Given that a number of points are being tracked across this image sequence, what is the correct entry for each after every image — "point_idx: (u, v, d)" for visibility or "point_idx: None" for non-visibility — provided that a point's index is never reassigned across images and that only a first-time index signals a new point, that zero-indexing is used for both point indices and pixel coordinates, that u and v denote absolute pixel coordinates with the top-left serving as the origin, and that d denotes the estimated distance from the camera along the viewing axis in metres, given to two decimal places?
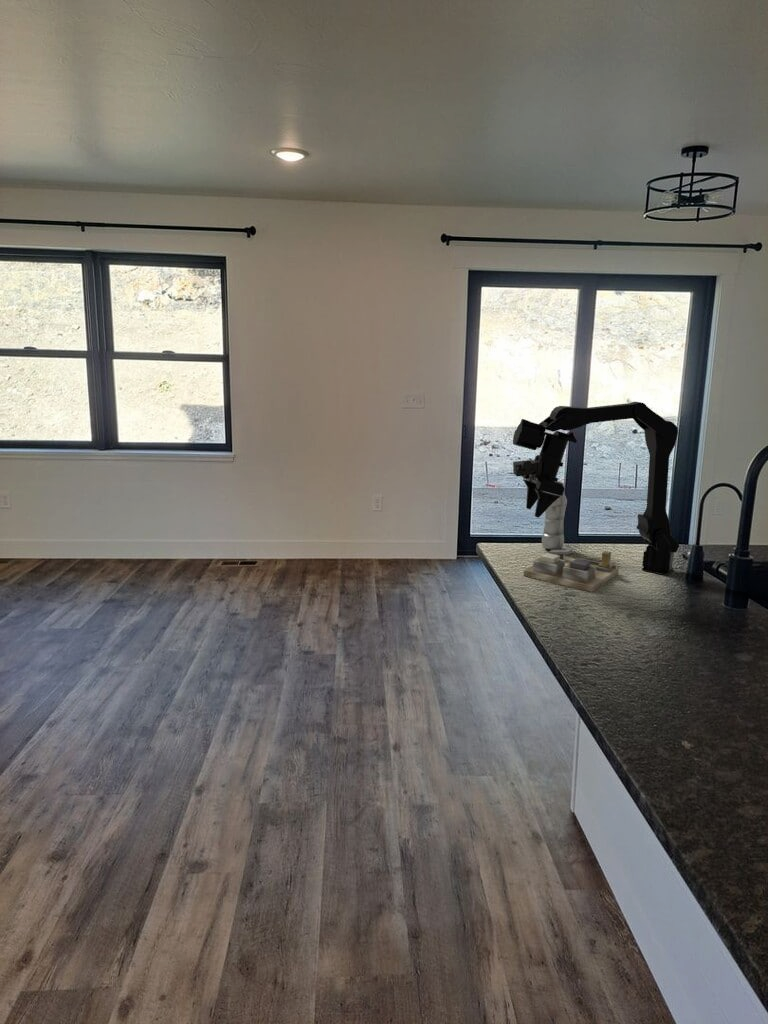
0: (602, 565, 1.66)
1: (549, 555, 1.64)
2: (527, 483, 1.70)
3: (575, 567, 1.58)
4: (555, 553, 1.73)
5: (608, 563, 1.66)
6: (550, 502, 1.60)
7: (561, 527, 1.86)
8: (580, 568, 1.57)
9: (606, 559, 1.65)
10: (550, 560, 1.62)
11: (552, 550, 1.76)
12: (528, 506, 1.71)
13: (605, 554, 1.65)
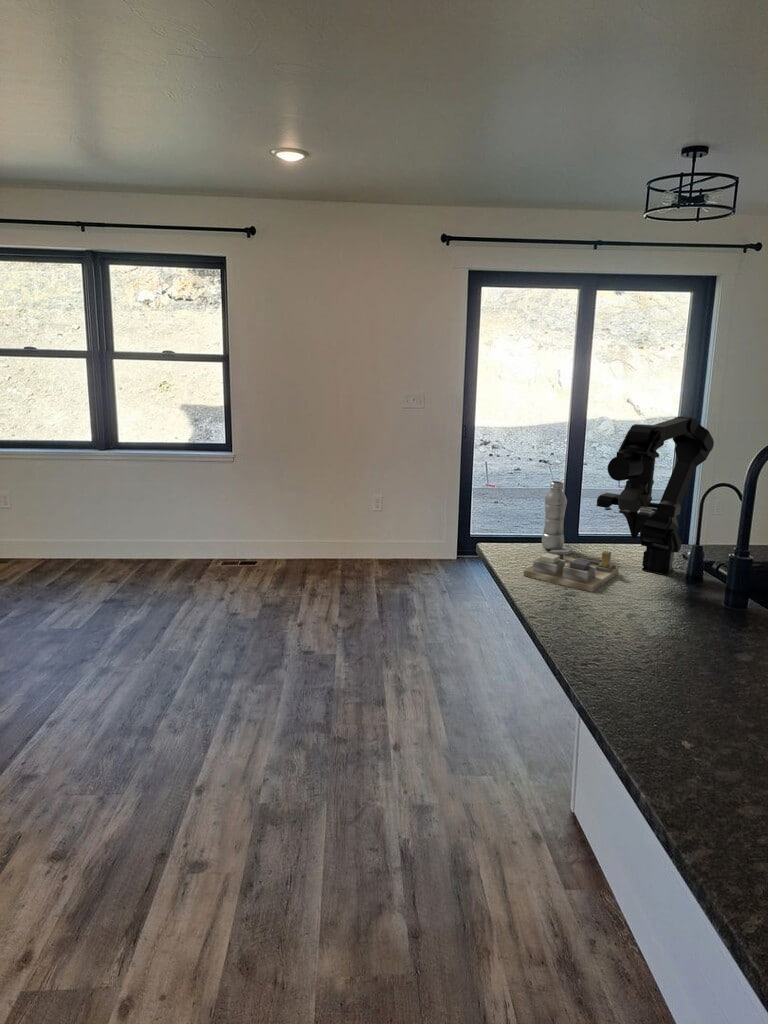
0: (602, 565, 1.66)
1: (549, 555, 1.64)
2: (631, 514, 1.58)
3: (575, 567, 1.58)
4: (555, 553, 1.73)
5: (608, 563, 1.66)
6: (645, 520, 1.59)
7: (561, 527, 1.86)
8: (580, 568, 1.57)
9: (606, 559, 1.65)
10: (550, 560, 1.62)
11: (552, 550, 1.76)
12: None
13: (605, 554, 1.65)
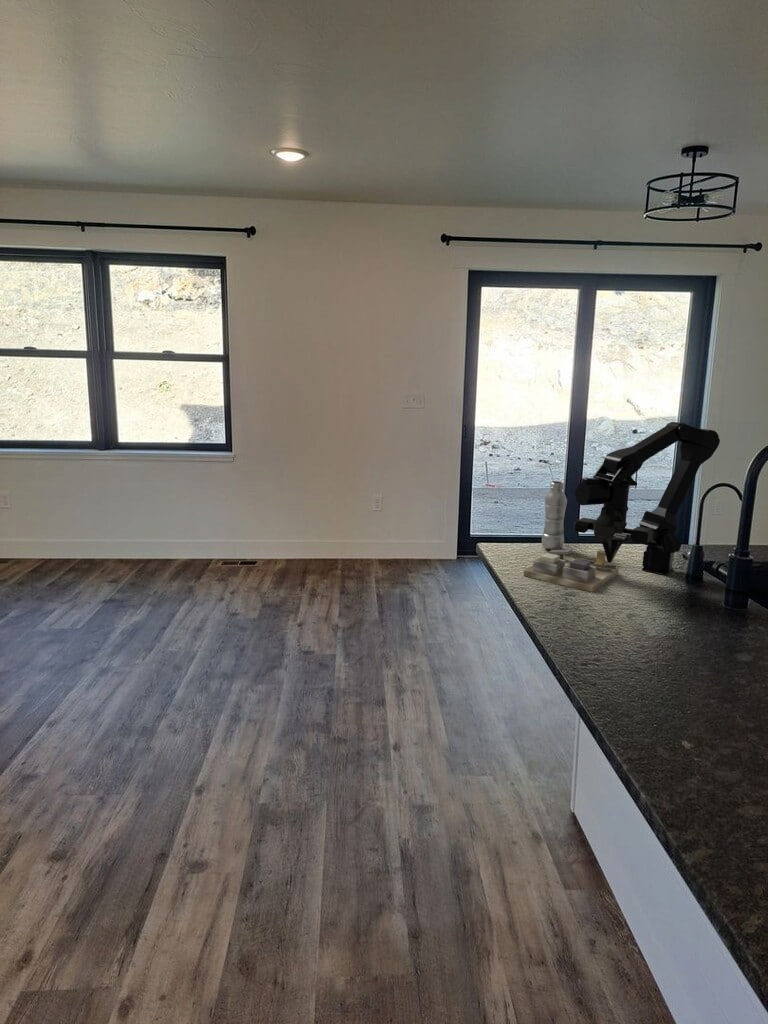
0: (597, 564, 1.67)
1: (549, 555, 1.64)
2: (606, 539, 1.63)
3: (575, 567, 1.58)
4: (555, 553, 1.73)
5: (603, 562, 1.66)
6: (620, 544, 1.64)
7: (561, 527, 1.86)
8: (580, 568, 1.57)
9: (601, 558, 1.66)
10: (550, 560, 1.62)
11: (552, 550, 1.76)
12: None
13: (600, 553, 1.66)
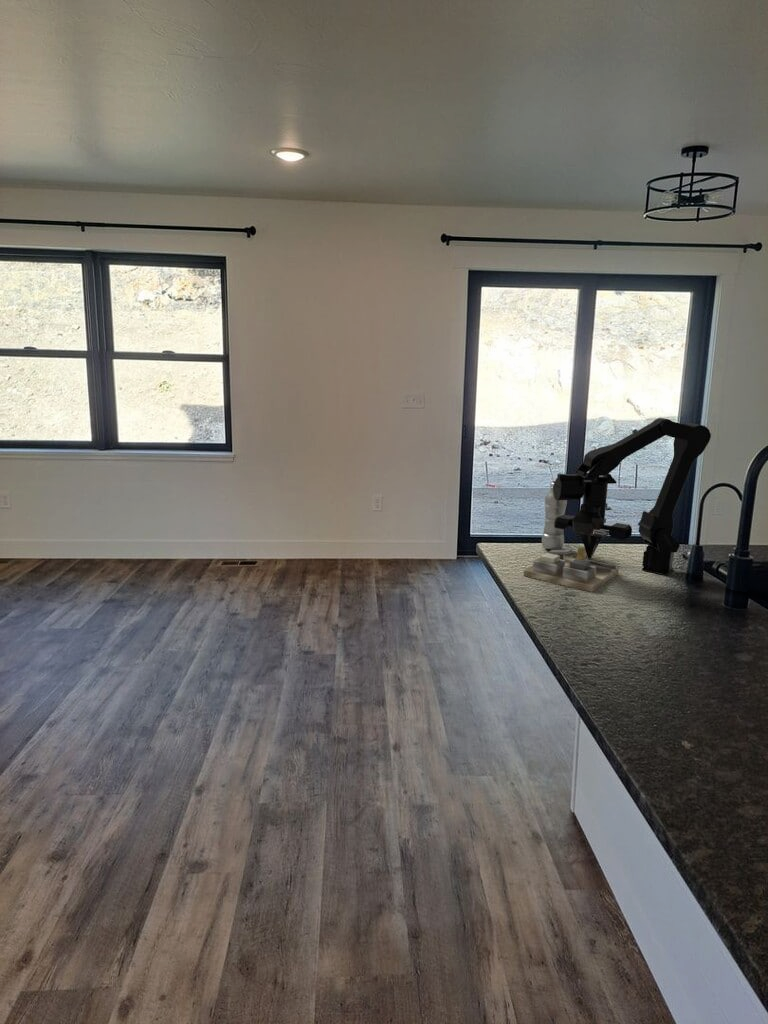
0: None
1: (549, 555, 1.64)
2: (586, 535, 1.66)
3: (575, 567, 1.58)
4: (555, 553, 1.73)
5: (583, 558, 1.70)
6: (599, 541, 1.68)
7: None
8: (580, 568, 1.57)
9: (581, 554, 1.69)
10: (550, 560, 1.62)
11: (552, 550, 1.76)
12: None
13: (580, 549, 1.69)
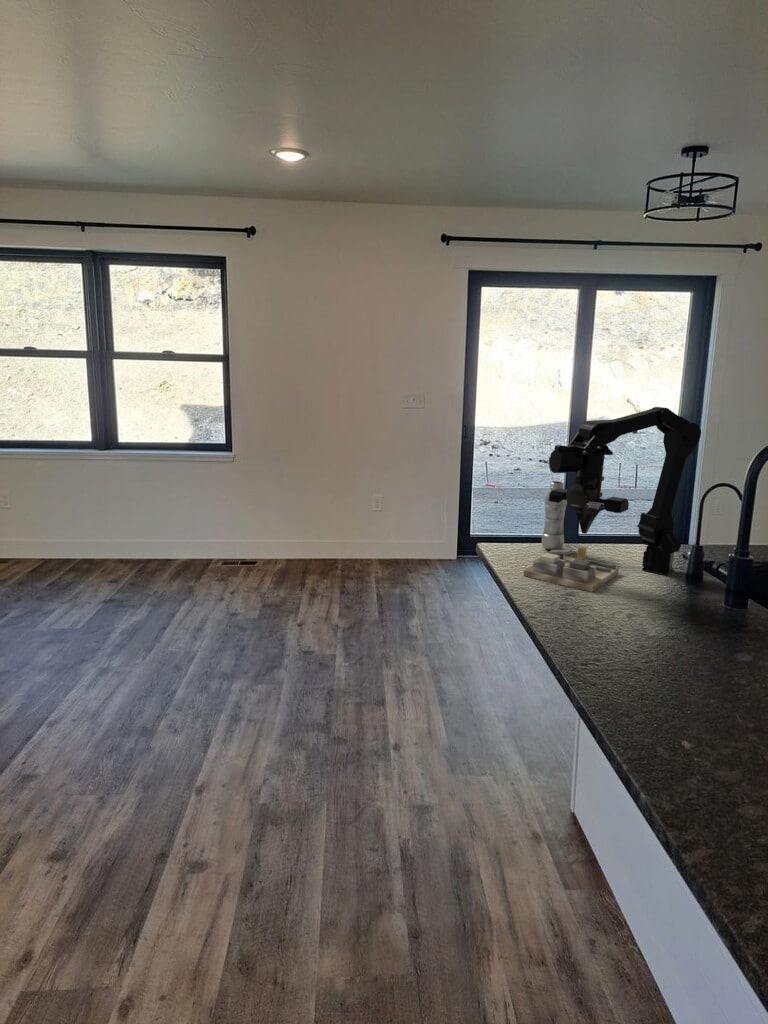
0: None
1: (549, 555, 1.64)
2: (580, 509, 1.60)
3: (575, 567, 1.58)
4: (555, 553, 1.73)
5: (583, 558, 1.70)
6: (595, 515, 1.62)
7: (561, 527, 1.86)
8: (580, 568, 1.57)
9: (581, 554, 1.69)
10: (550, 560, 1.62)
11: (552, 550, 1.76)
12: None
13: (580, 549, 1.69)
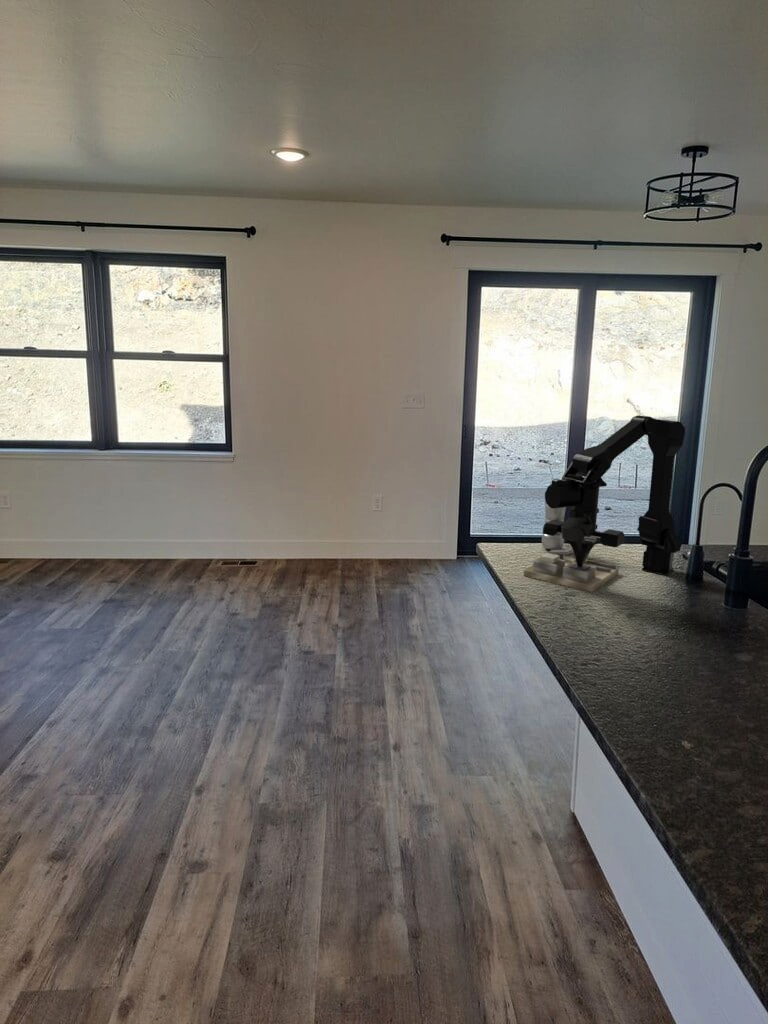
0: None
1: (549, 555, 1.64)
2: (575, 542, 1.56)
3: None
4: (555, 553, 1.73)
5: None
6: (591, 548, 1.58)
7: None
8: None
9: None
10: (550, 560, 1.62)
11: (552, 550, 1.76)
12: None
13: None
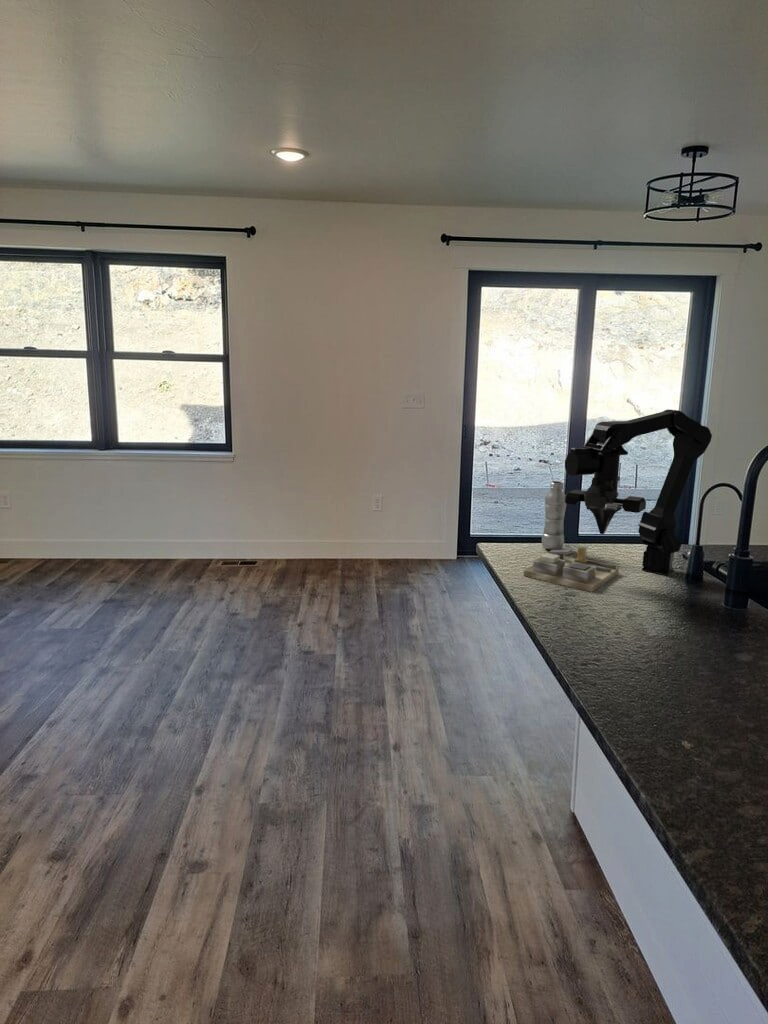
0: (578, 560, 1.70)
1: (549, 555, 1.64)
2: (598, 510, 1.60)
3: None
4: (555, 553, 1.73)
5: (583, 558, 1.70)
6: (612, 515, 1.62)
7: (561, 527, 1.86)
8: None
9: (581, 554, 1.69)
10: (550, 560, 1.62)
11: (552, 550, 1.76)
12: None
13: (580, 549, 1.69)
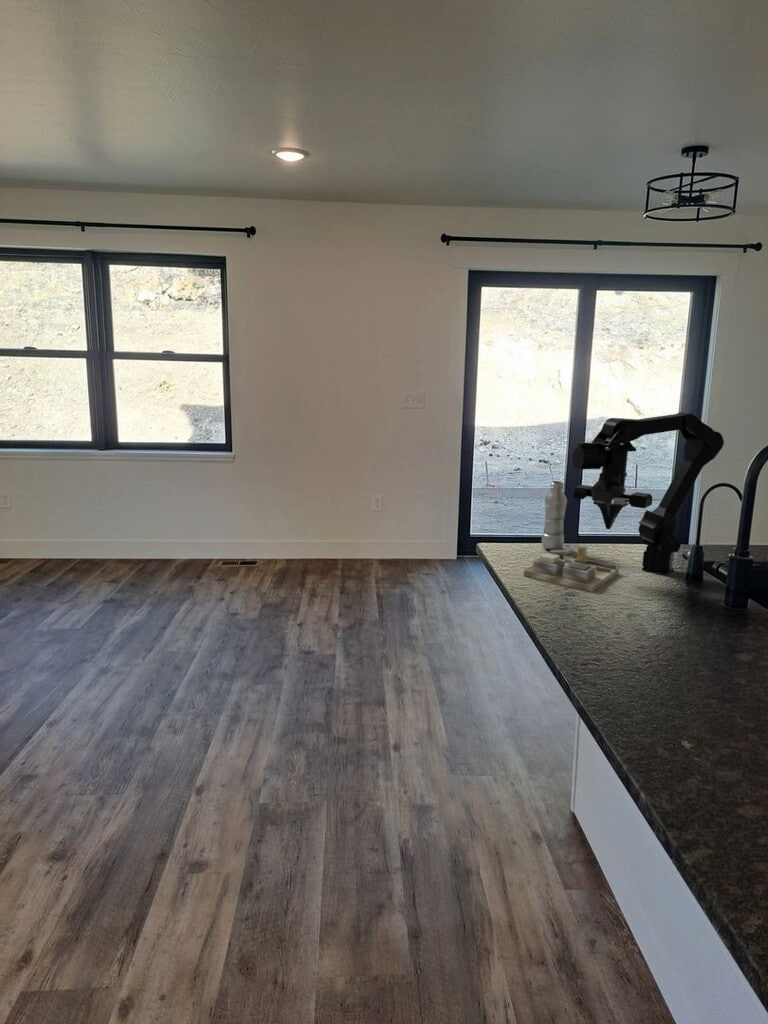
0: (578, 560, 1.70)
1: (549, 555, 1.64)
2: (604, 505, 1.62)
3: None
4: (555, 553, 1.73)
5: (583, 558, 1.70)
6: (619, 511, 1.64)
7: (561, 527, 1.86)
8: None
9: (581, 554, 1.69)
10: (550, 560, 1.62)
11: (552, 550, 1.76)
12: None
13: (580, 549, 1.69)
